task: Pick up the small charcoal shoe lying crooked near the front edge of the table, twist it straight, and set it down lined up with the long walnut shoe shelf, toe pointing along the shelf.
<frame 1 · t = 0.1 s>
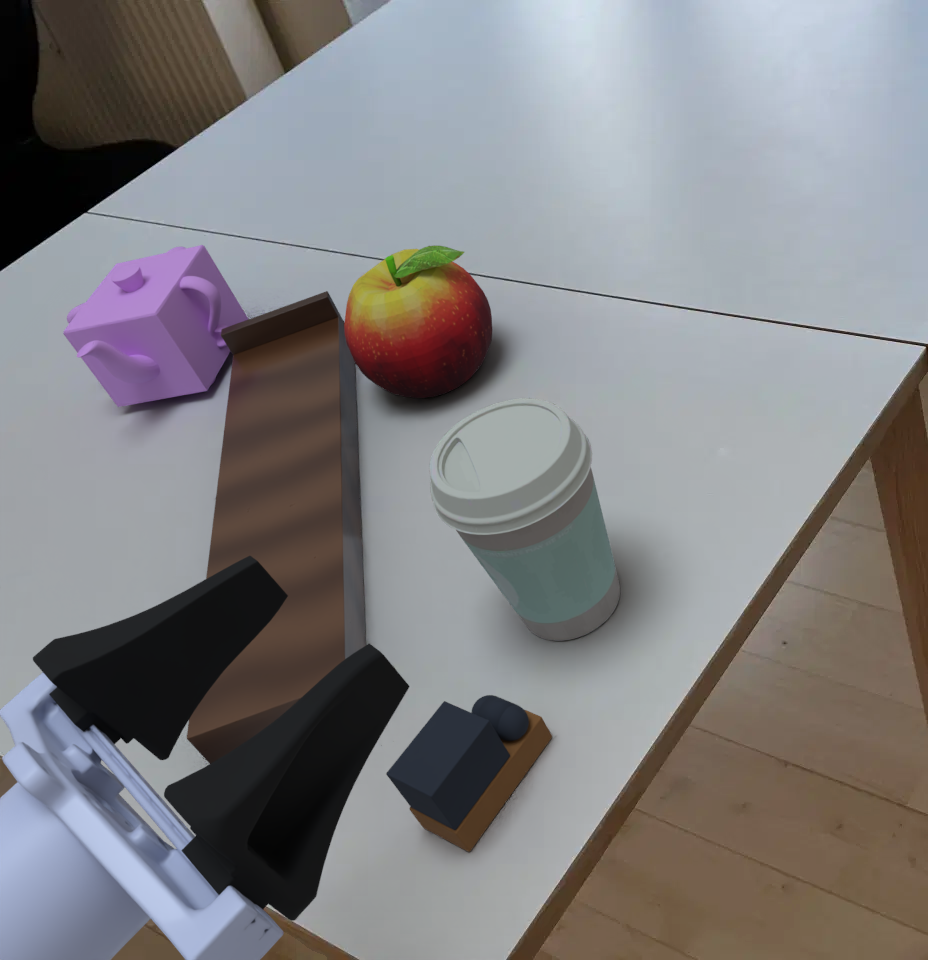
hand: (325, 617, 37), 20 cm above the table, tool horizontal, fingers open, 7 cm apart
shoe: (489, 781, 55), on the table
teapot: (182, 378, 95), on the table
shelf: (298, 512, 76), on the table
fruit: (443, 375, 84), on the table
coffee cup: (572, 603, 63), on the table
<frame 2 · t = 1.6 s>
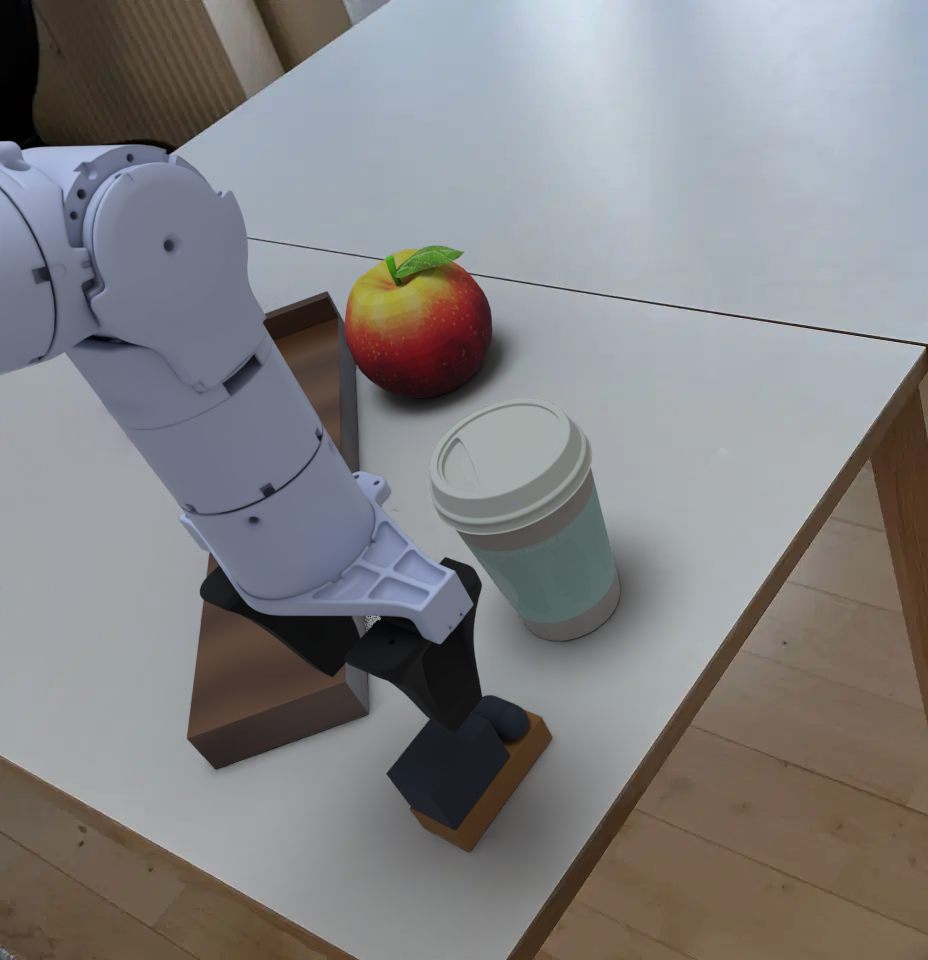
hand: (400, 684, 49), 9 cm above the table, tool pointing down, fingers open, 7 cm apart
nothing on the table moved.
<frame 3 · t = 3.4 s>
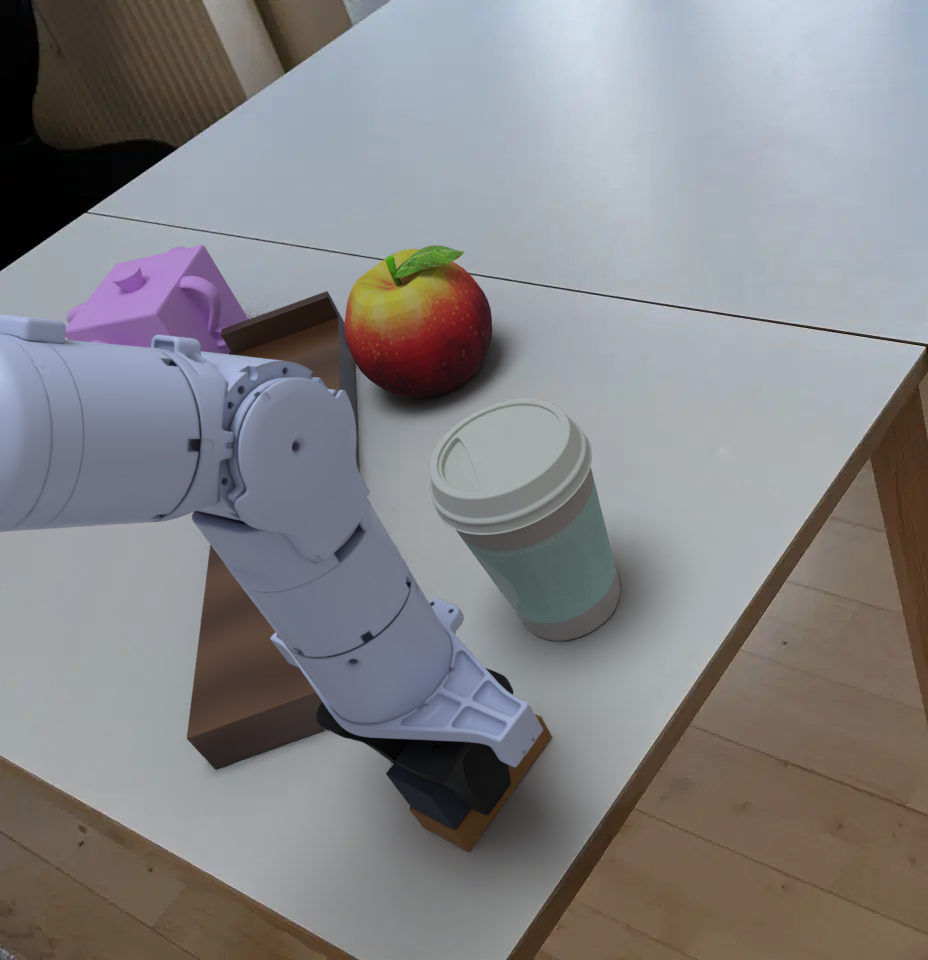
hand: (466, 782, 54), 1 cm above the table, tool pointing down, fingers closed on shoe, 3 cm apart
shoe: (488, 781, 55), on the table, touching gripper
everything else where it was.
when the fingers open (4 cm above the table, at t = 7.8 s): shoe stays where it is, resting on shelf.
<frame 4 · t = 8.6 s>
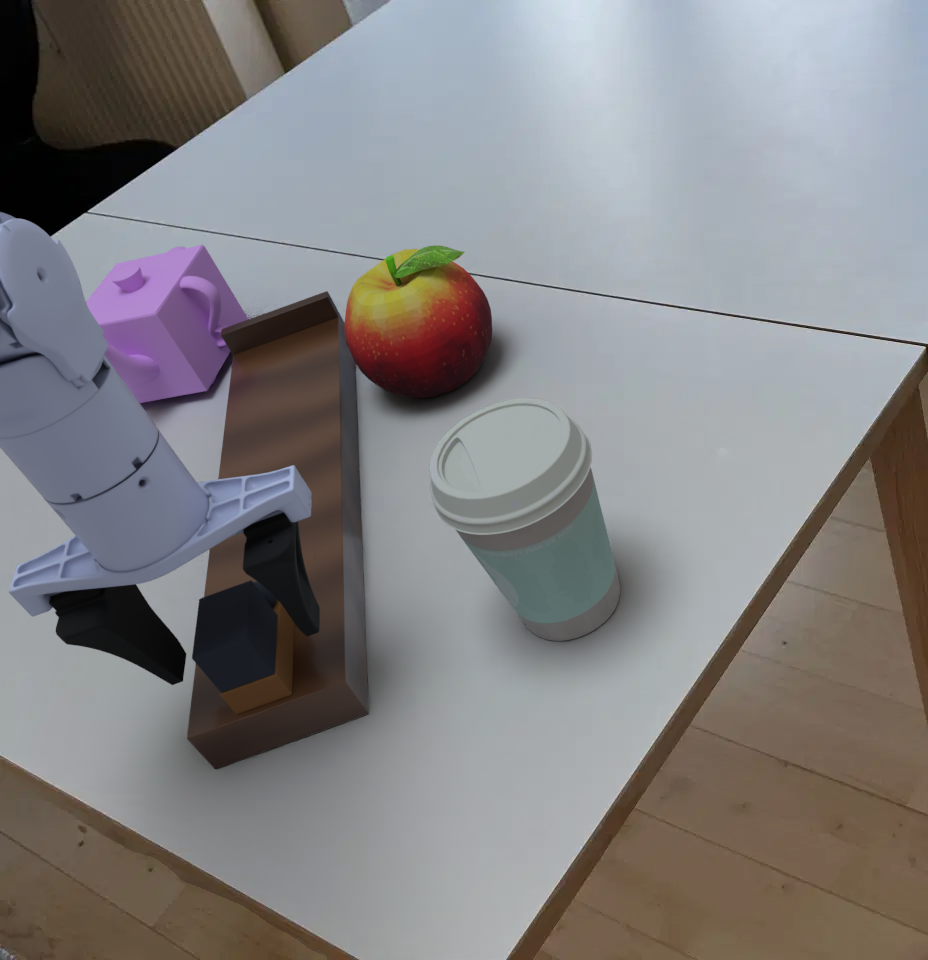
hand: (246, 645, 59), 5 cm above the table, tool pointing down, fingers open, 7 cm apart
shoe: (267, 657, 62), point 3 cm above the table, touching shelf
everything else where it was.
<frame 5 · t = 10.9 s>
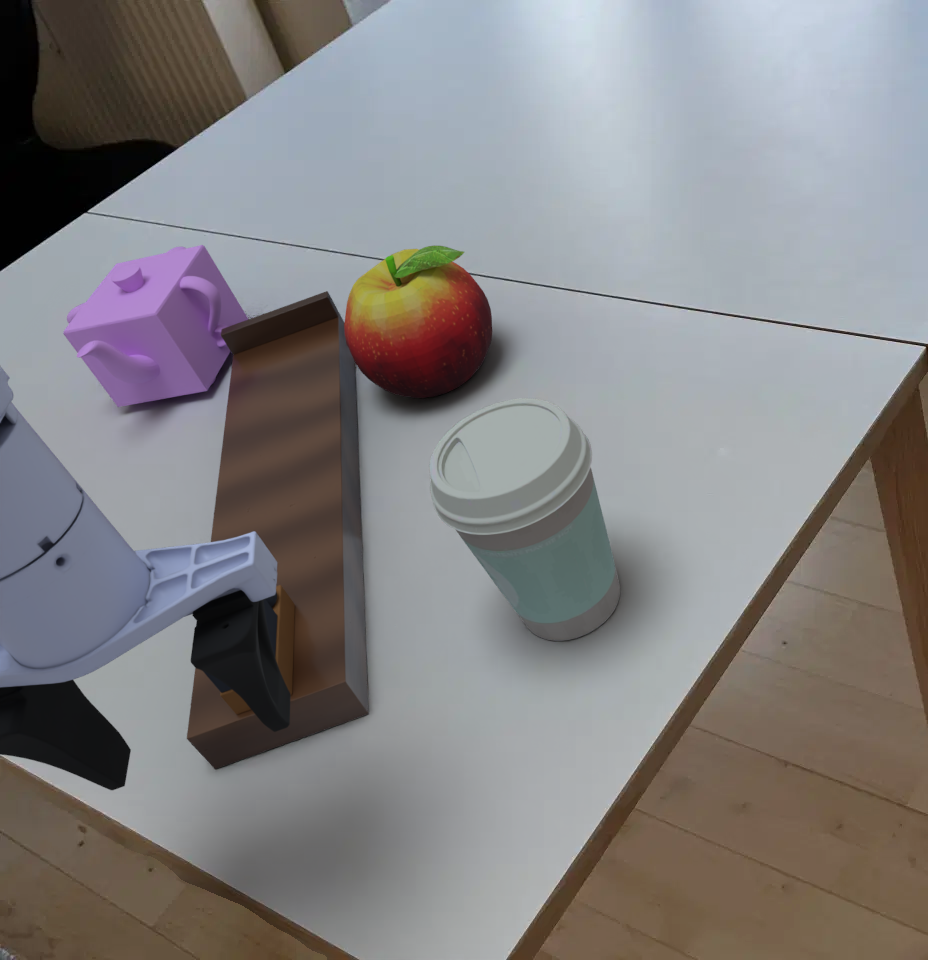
hand: (201, 741, 49), 9 cm above the table, tool pointing down, fingers open, 7 cm apart
nothing on the table moved.
at the end: shoe inside the target area on the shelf (0.3 cm from its centre), point 3.0 cm above the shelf's base; shoe tilted 0°; the gripper is holding nothing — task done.
